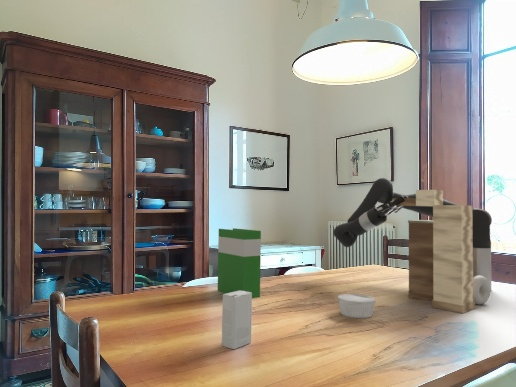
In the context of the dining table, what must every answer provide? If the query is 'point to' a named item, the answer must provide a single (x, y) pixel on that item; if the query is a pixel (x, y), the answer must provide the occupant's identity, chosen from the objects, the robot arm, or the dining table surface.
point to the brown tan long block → (424, 198)
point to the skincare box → (236, 319)
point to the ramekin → (356, 305)
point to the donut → (480, 289)
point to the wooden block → (453, 258)
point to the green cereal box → (239, 261)
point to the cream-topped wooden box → (421, 259)
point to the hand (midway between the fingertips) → (405, 198)
